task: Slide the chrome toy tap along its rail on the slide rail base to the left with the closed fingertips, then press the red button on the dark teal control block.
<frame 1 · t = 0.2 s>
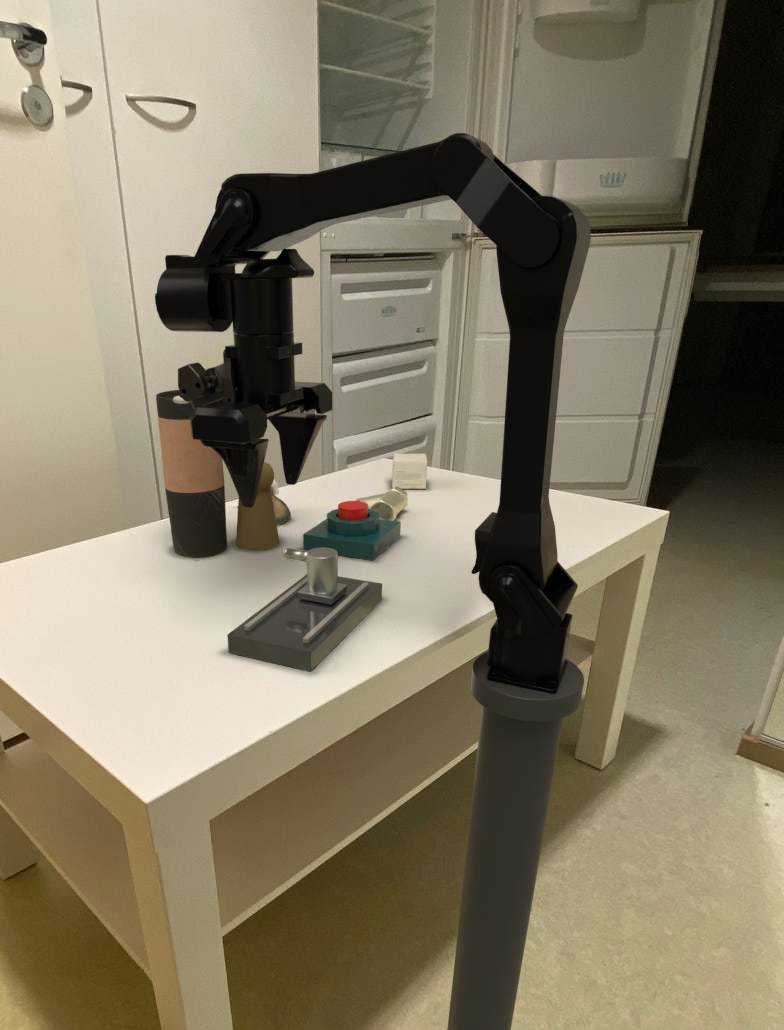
hand: (270, 495, 76), 12 cm above the table, tool pointing down, fingers open, 9 cm apart
slide rail base: (310, 624, 76), on the table
small box: (408, 486, 124), on the table
eagle figurine: (265, 517, 110), on the table
button: (353, 511, 96), point 4 cm above the table, slide at 0.1 cm
button block: (352, 543, 98), on the table
pipe fitting: (378, 519, 108), on the table
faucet: (319, 573, 77), point 5 cm above the table, slide at 0.0 cm
travel mug: (200, 549, 98), on the table
brown tapered upright piece: (257, 544, 100), on the table
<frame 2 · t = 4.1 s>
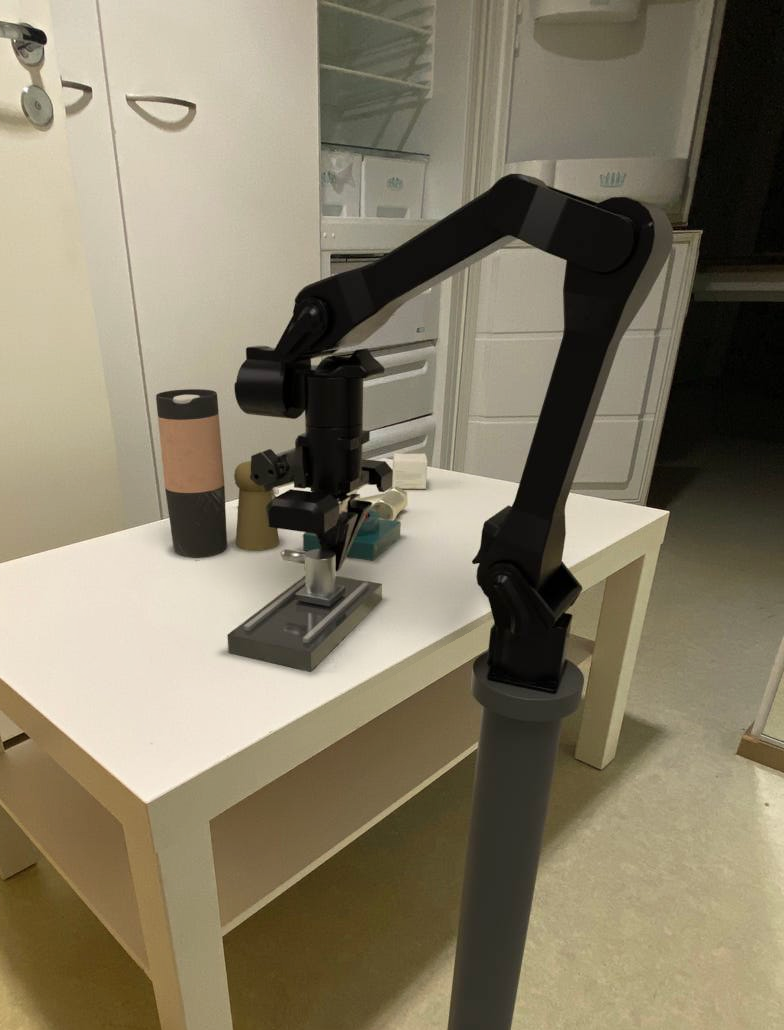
hand: (334, 569, 79), 4 cm above the table, tool pointing down, fingers closed
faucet: (316, 575, 76), point 5 cm above the table, slide at 0.5 cm, touching gripper
everything else where it was.
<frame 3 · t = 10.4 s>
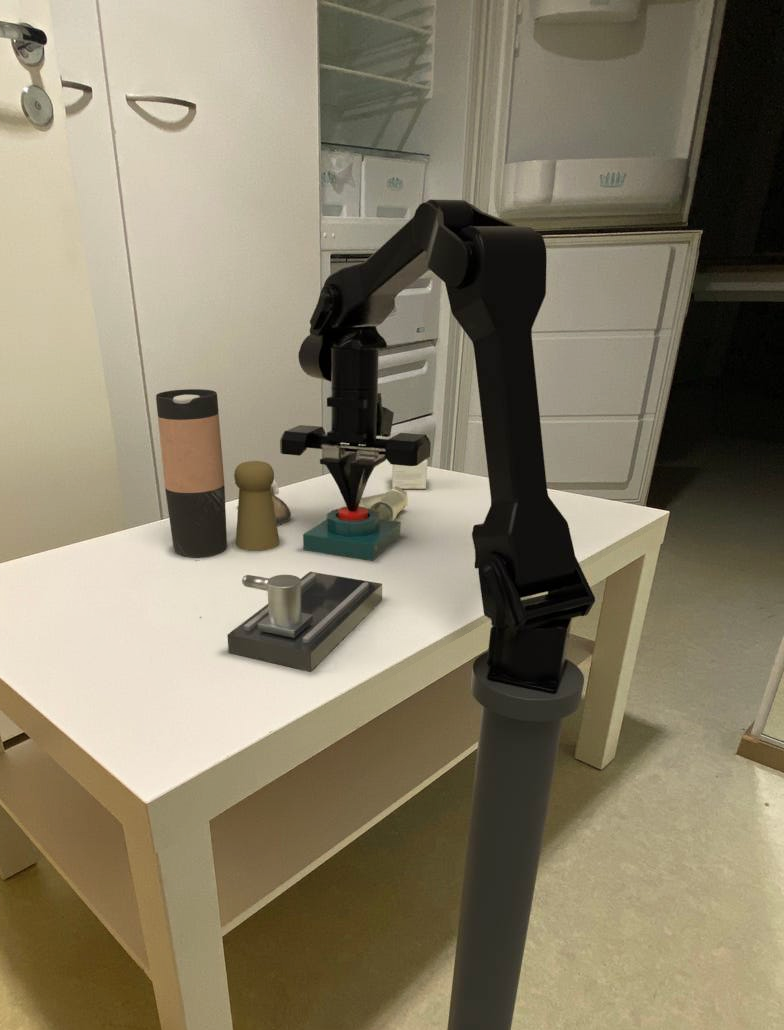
hand: (353, 510, 96), 5 cm above the table, tool pointing down, fingers closed, pressing on button
button: (352, 516, 97), point 4 cm above the table, slide at -0.6 cm, touching gripper
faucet: (281, 603, 70), point 5 cm above the table, slide at 8.4 cm
everything else where it was.
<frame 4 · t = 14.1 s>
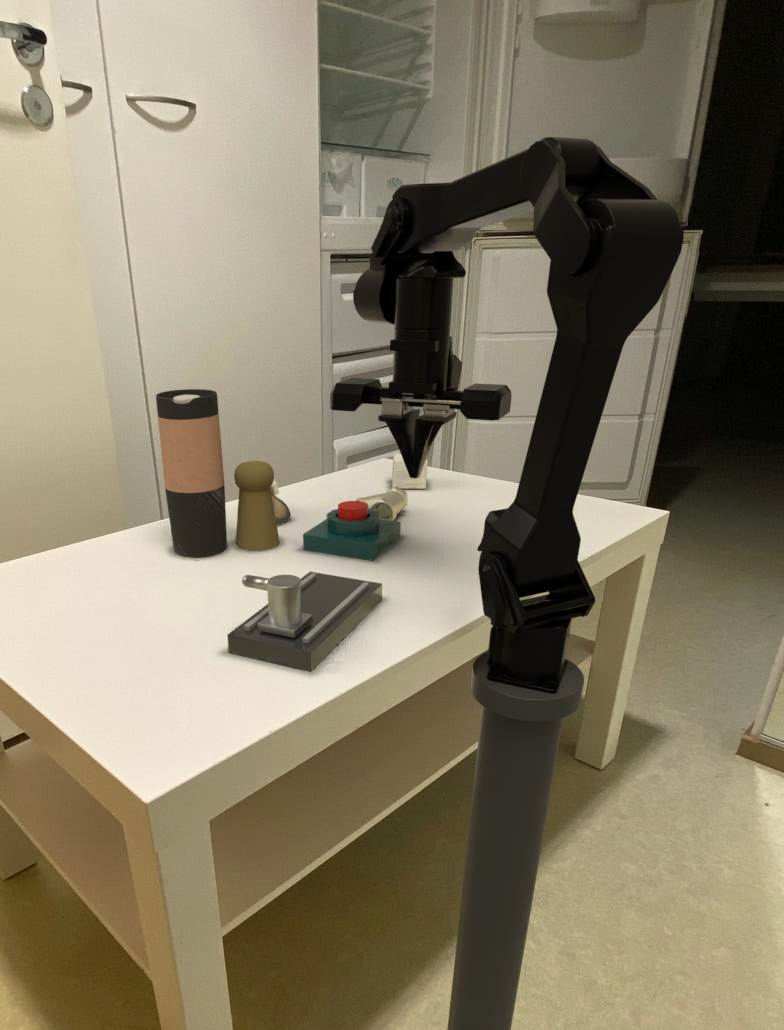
hand: (414, 477, 82), 12 cm above the table, tool pointing down, fingers closed
button: (353, 511, 96), point 4 cm above the table, slide at 0.1 cm
everything else where it was.
at the end: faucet slide at 8.4 cm; button pushed in 1.1 cm at the most during the clip, back to where it started at the end; button slide at 0.1 cm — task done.
